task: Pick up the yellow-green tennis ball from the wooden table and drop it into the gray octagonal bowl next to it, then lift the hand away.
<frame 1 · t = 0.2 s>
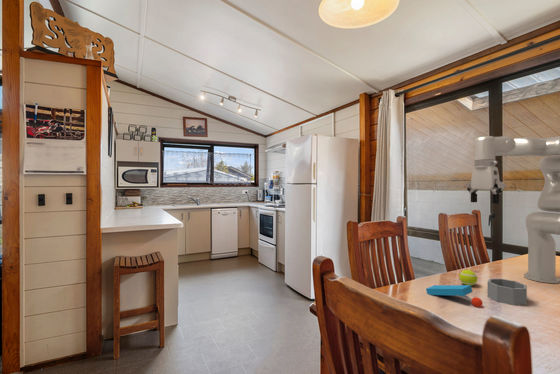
hand: (484, 202, 127), 36 cm above the table, tool pointing down, fingers open, 9 cm apart
tennis ball: (468, 285, 126), on the table
gray octagonal bowl: (506, 298, 111), on the table
lever: (454, 300, 111), on the table
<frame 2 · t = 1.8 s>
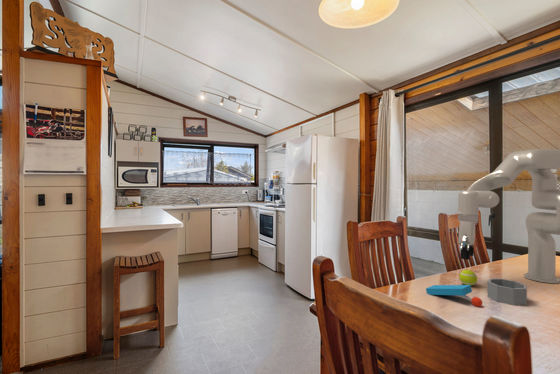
hand: (467, 257, 126), 12 cm above the table, tool pointing down, fingers open, 9 cm apart
nothing on the table moved.
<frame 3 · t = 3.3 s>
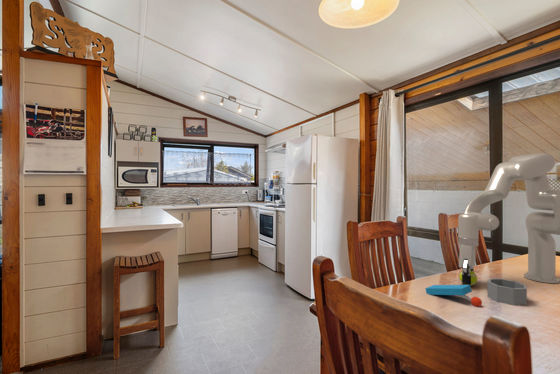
hand: (468, 281, 126), 2 cm above the table, tool pointing down, fingers closed on tennis ball, 6 cm apart
tennis ball: (468, 285, 126), on the table, touching gripper
everything else where it was.
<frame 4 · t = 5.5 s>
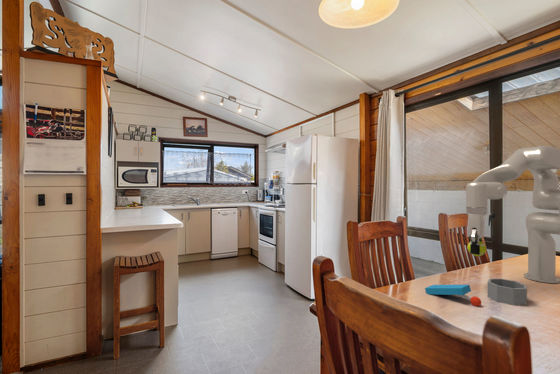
hand: (476, 252, 122), 15 cm above the table, tool pointing down, fingers closed on tennis ball, 6 cm apart
tennis ball: (476, 256, 122), point 14 cm above the table, touching gripper
everything else where it was.
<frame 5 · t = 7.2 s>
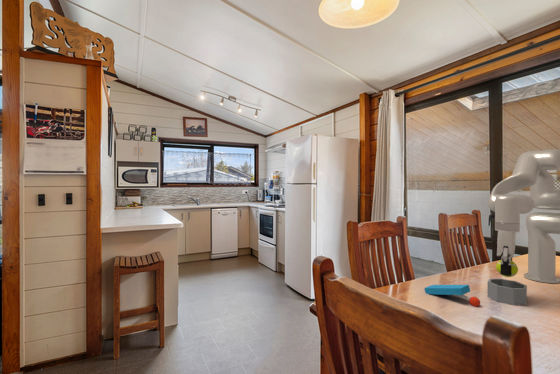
hand: (506, 272, 111), 10 cm above the table, tool pointing down, fingers closed on tennis ball, 6 cm apart
tennis ball: (506, 277, 111), point 8 cm above the table, touching gripper
everything else where it was.
when the fingers open (9 cm above the table, at t = 7.9 s): tennis ball drops 6 cm, resting on gray octagonal bowl.
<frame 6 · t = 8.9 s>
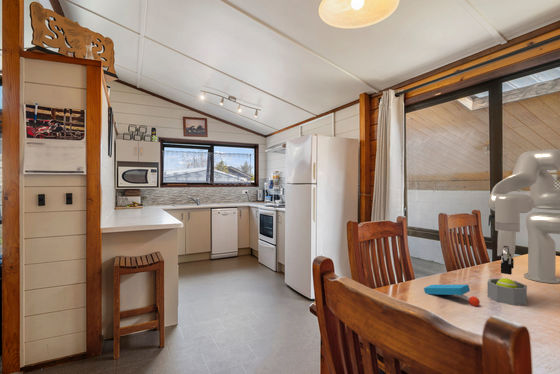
hand: (507, 270, 111), 11 cm above the table, tool pointing down, fingers open, 9 cm apart
tennis ball: (506, 296, 111), point 1 cm above the table, touching gray octagonal bowl
everything else where it was.
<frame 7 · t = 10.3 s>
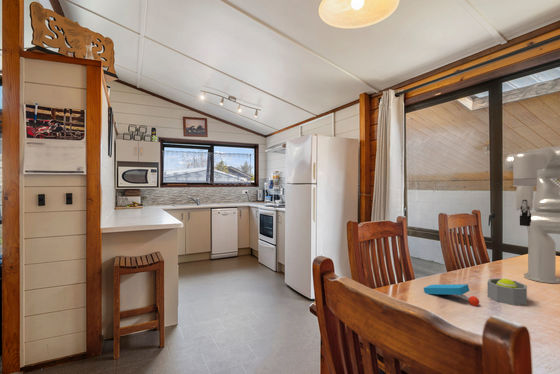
hand: (525, 224, 118), 28 cm above the table, tool pointing down, fingers open, 9 cm apart
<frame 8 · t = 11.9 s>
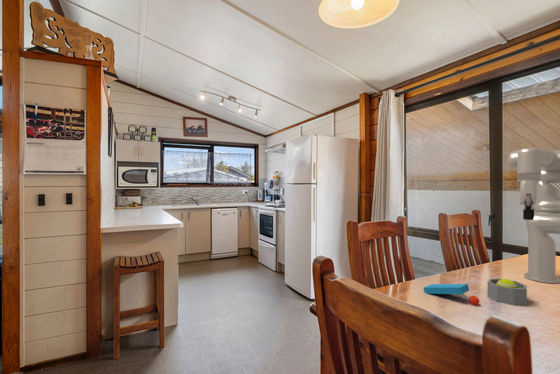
hand: (528, 218, 119), 30 cm above the table, tool pointing down, fingers open, 9 cm apart
at the end: tennis ball 0.1 cm from the gray octagonal bowl (horizontally); tennis ball touching gray octagonal bowl; the gripper is holding nothing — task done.
